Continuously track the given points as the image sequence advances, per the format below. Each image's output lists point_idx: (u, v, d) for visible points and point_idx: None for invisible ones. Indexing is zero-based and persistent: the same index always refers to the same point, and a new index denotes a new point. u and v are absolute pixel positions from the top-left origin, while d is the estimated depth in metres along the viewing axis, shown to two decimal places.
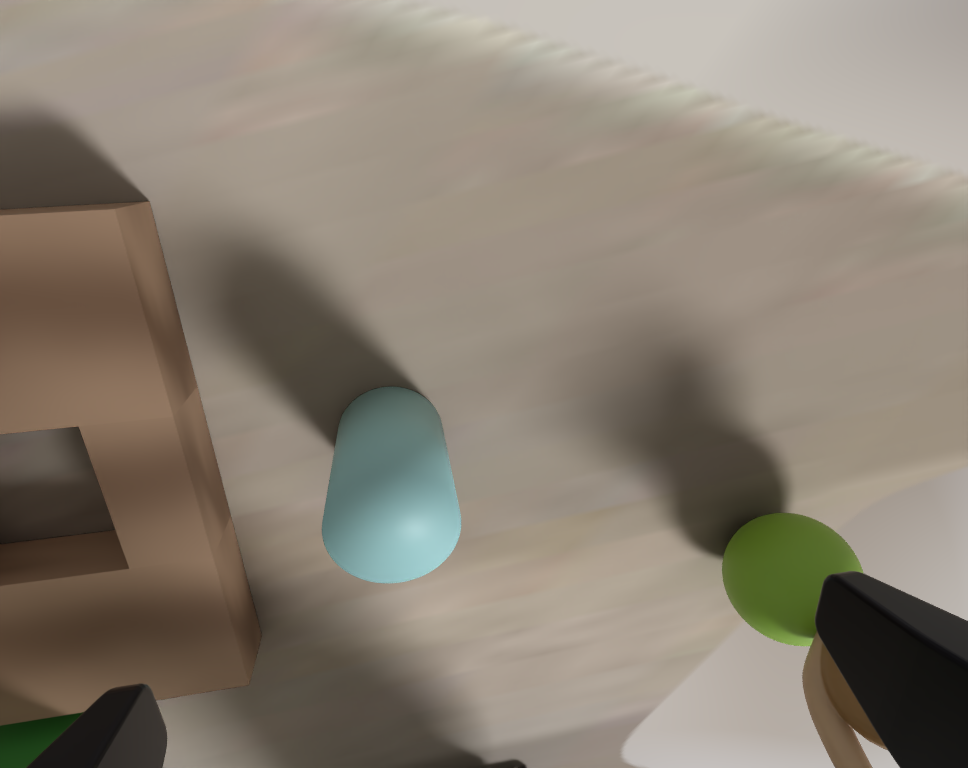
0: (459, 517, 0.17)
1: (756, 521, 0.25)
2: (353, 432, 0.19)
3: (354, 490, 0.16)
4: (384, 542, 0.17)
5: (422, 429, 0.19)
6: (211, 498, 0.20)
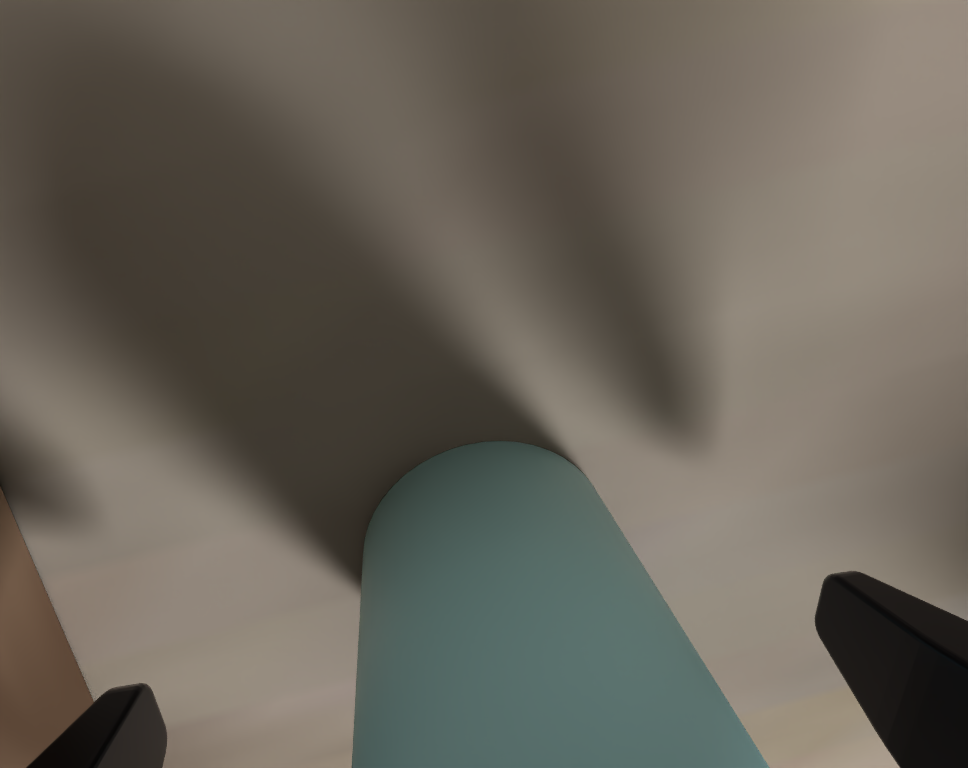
0: None
1: None
2: (428, 611, 0.06)
3: None
4: None
5: (640, 594, 0.06)
6: (28, 747, 0.08)
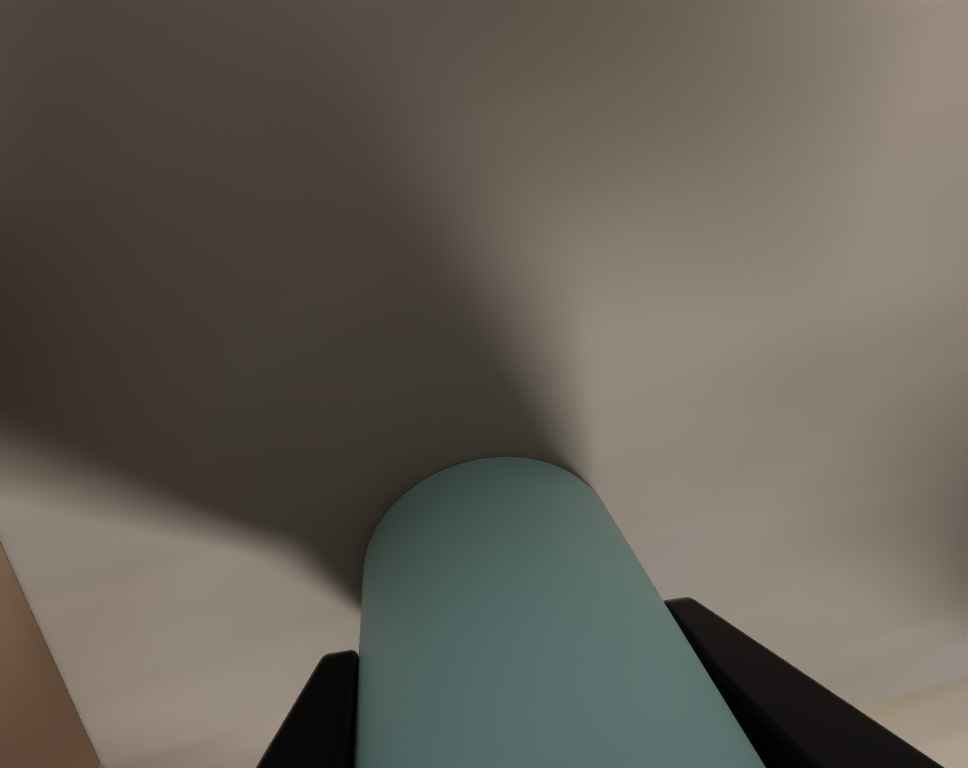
0: None
1: None
2: (433, 646, 0.05)
3: None
4: None
5: (658, 629, 0.06)
6: None
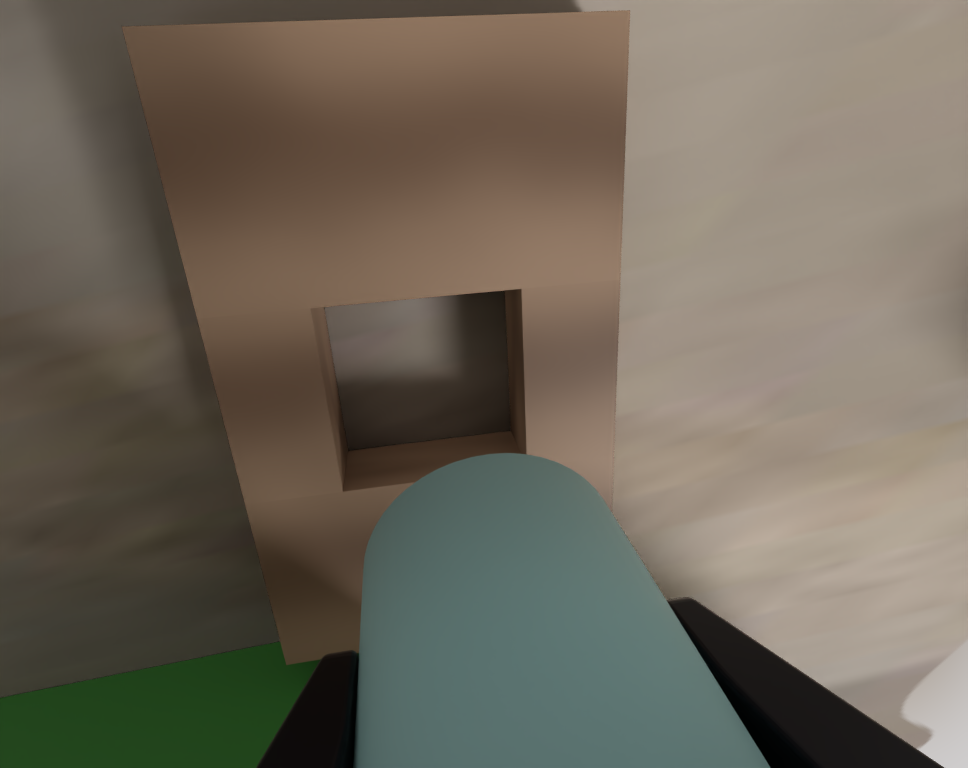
0: None
1: None
2: (433, 642, 0.05)
3: None
4: None
5: (659, 624, 0.06)
6: None
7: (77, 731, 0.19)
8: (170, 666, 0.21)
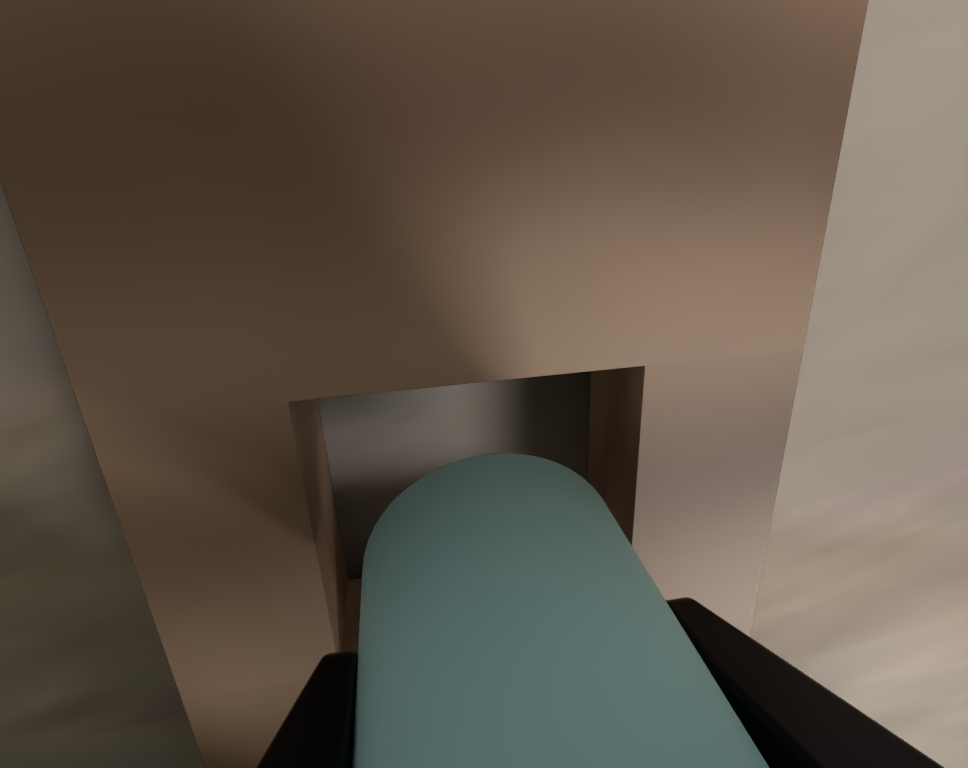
0: None
1: None
2: (431, 642, 0.05)
3: None
4: None
5: (659, 624, 0.06)
6: None
7: None
8: None
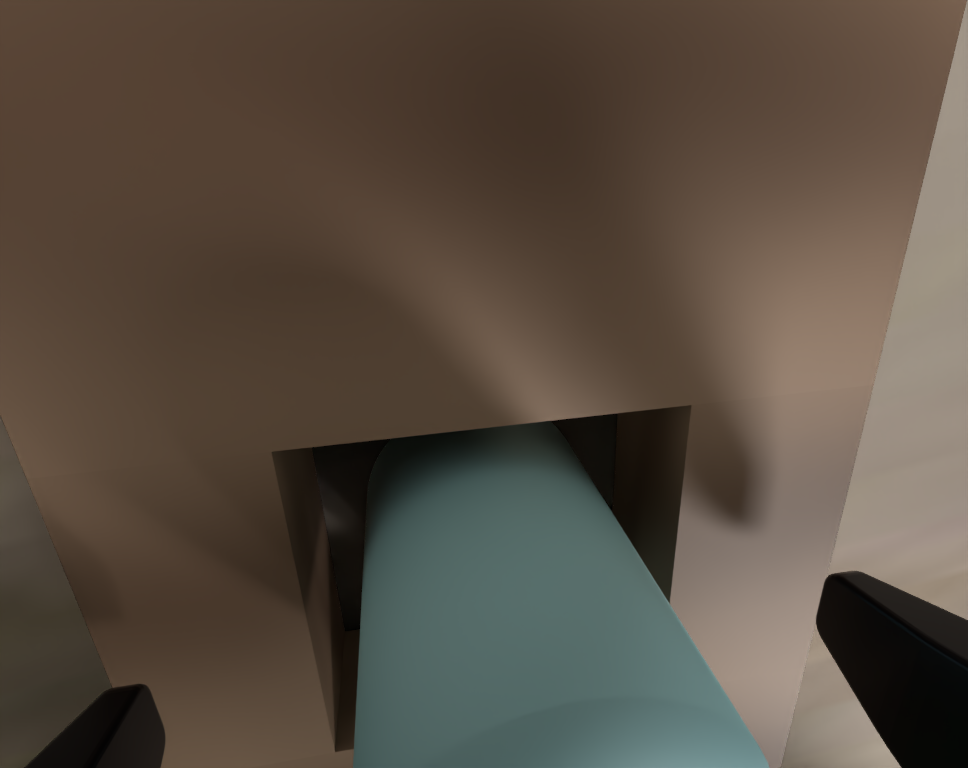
0: None
1: None
2: (421, 518, 0.07)
3: None
4: None
5: (592, 508, 0.07)
6: None
7: None
8: None
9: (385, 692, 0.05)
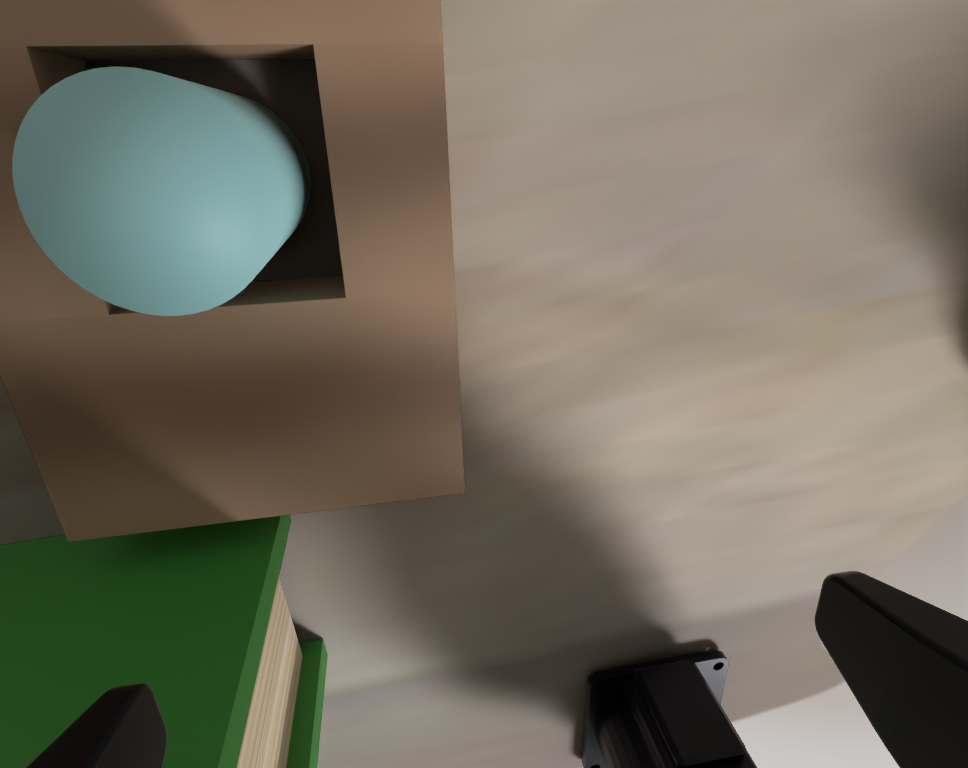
0: (269, 192, 0.10)
1: None
2: None
3: (63, 108, 0.09)
4: (138, 230, 0.10)
5: (243, 103, 0.12)
6: None
7: None
8: None
9: None
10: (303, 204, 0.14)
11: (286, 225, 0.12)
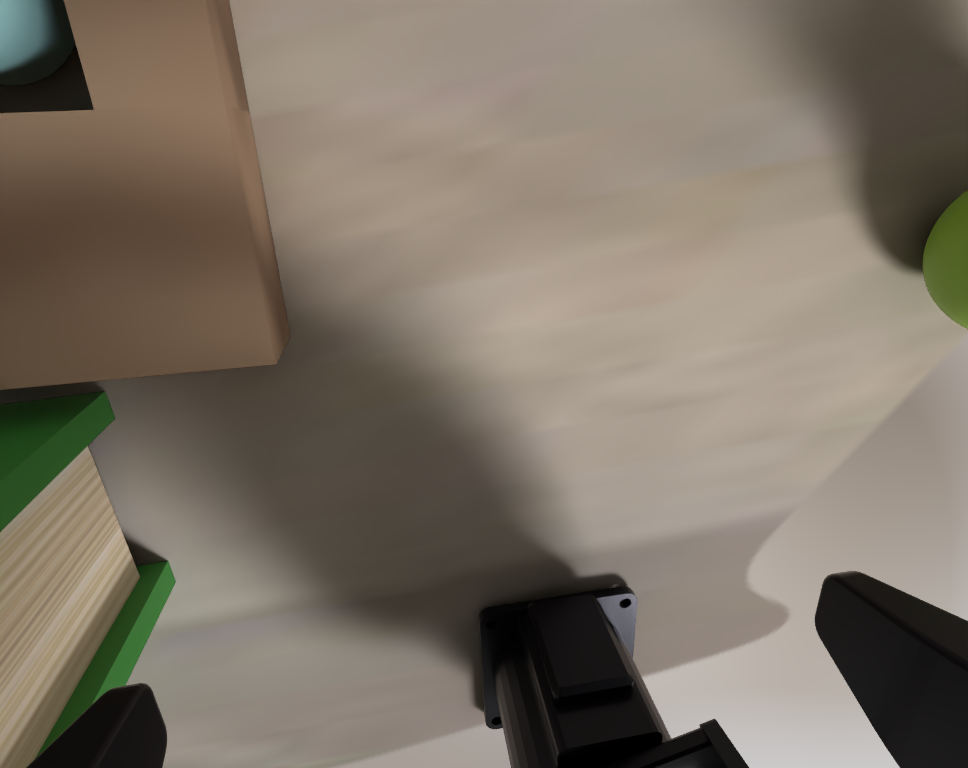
0: None
1: None
2: None
3: None
4: None
5: None
6: (222, 28, 0.13)
7: None
8: None
9: None
10: (46, 5, 0.13)
11: None
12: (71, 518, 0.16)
